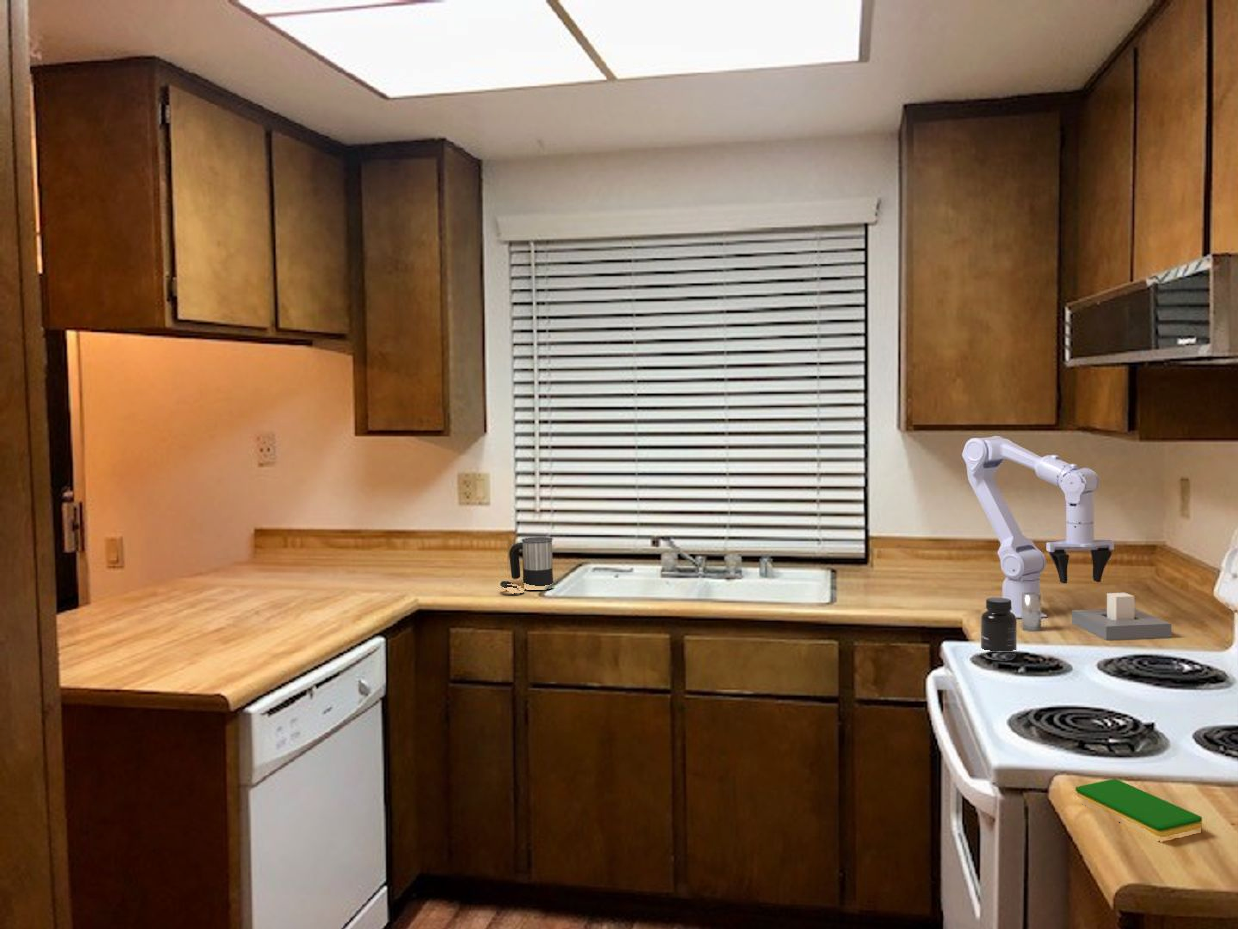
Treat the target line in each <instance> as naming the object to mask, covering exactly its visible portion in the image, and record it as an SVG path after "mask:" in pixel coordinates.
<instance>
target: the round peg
mask: <svg viewBox="0 0 1238 929" xmlns="http://www.w3.org/2000/svg"><path fill="white" fill-rule="evenodd" d="M1041 612H1042V594H1041V593H1040V594H1039V593H1031V592H1028V593H1022V618H1021V630H1023V629H1024V630H1023V631H1025V630H1027V631H1026V632H1040V631H1042V617H1041Z"/></svg>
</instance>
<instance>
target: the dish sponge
mask: <svg viewBox="0 0 1238 929" xmlns="http://www.w3.org/2000/svg"><path fill="white" fill-rule="evenodd" d="M1076 795H1077V796H1078V797H1082V798H1084V799H1085V800H1088V801H1089V802H1090V803H1094V804H1096V805H1098V806H1100V807H1102V808H1104V809H1107V810H1109V811H1110V812H1112V813H1114V814H1116V815H1117V816H1121V817H1123V818H1125V819H1127V820H1128V821H1130V822H1133V823H1135V824H1138V825H1139V826H1140V827H1141V828H1145V829H1146V830H1148V831H1150V832H1151V833H1153V834H1155V835H1156V836H1160V837H1166V836H1170V835H1174V834H1179V833H1182V832H1188V831H1191V830H1195V829H1198V828H1202V829H1203V822H1202V821H1203V817H1202V816H1201V815H1199V814H1196V813H1194V812H1192V811H1189V810H1187V809H1184V808H1183V807H1180V806H1178V805H1176V804H1173V803H1171V802H1169V801H1167V800H1164V799H1162V798H1160V797H1158V796H1155V795H1153V794H1151V793H1149V792H1147V791H1144V790H1142V789H1140V788H1137V787H1135V786H1133V785H1131V784H1128V783H1126V782H1124V781H1122V780H1119V779H1116V778H1112V779H1107V780H1106V779H1105V780H1103V781H1102V780H1101V781H1098V782H1094V783H1089V784H1084V785H1080V786H1076V787H1075V796H1076Z"/></svg>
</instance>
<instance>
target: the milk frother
mask: <svg viewBox="0 0 1238 929" xmlns="http://www.w3.org/2000/svg"><path fill="white" fill-rule="evenodd" d="M553 540H554V539H553V537H548V536H533V537H532V536H531V537H530V536H529V537H525V538H522V539H521V540H520V541H521V542H516V543H514V544H513V545H511V547H510V548H509V555H508V556H509V564H510V574H511V578H512V579H513V580H518V579H519V578H521V566H520V550H521V551H522V552H521V553H522V557H521V558H522V584H523V583H526V584H529V585H535V586H545V585H550V584H552V583H553V584H554V575H553V574H554V573H553V570H554V569H553V568H554V567H553ZM511 583H512V584H513V583H514V582H512V581H508V580H503V581H501V582H500V583H499V584H500V585H499V586H500V587H501V586H502V587H504V588H507V587H513V588H517V586H512V585H507V584H511ZM502 587H501V588H502ZM517 589H518V588H517Z"/></svg>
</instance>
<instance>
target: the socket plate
mask: <svg viewBox="0 0 1238 929" xmlns="http://www.w3.org/2000/svg"><path fill="white" fill-rule="evenodd" d="M1071 624H1073V625H1075V626H1077V627H1079V628H1081V629H1083V630H1085V631H1087V632H1089V633H1091V634H1092V635H1095V636H1096V637H1098V638H1101V639H1103V640H1105V641H1120V640H1142V639H1143V640H1147V639H1166V638H1167V639H1168V638H1172V623H1171V622H1168V621H1166V620H1163V619H1161V618H1159V617H1155V616H1153V615H1151V614H1149V613H1146V612H1144V611H1141V610H1139V609H1136V608H1134V620H1111V619H1109V618H1107V608H1099V609H1097V608H1096V609H1093V608H1092V609H1072V610H1071Z"/></svg>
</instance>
